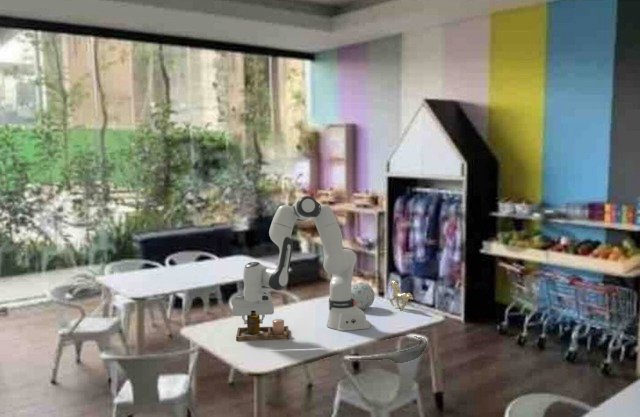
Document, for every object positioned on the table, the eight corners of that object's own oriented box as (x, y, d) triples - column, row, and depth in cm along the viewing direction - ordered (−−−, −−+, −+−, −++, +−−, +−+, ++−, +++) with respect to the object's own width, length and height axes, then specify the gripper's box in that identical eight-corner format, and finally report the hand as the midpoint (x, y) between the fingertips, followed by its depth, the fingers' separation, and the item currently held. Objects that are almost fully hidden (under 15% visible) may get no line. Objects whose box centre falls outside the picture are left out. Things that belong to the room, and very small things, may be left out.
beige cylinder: (284, 332, 284) (283, 318, 283) (284, 336, 278) (284, 322, 277) (272, 332, 283) (272, 319, 283) (272, 336, 278) (272, 322, 277)
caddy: (288, 330, 288) (288, 326, 288) (288, 340, 274) (288, 335, 274) (238, 332, 286) (238, 327, 286) (236, 341, 272) (236, 336, 272)
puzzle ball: (346, 305, 333) (346, 280, 331) (371, 304, 335) (371, 279, 333) (350, 313, 318) (350, 286, 316) (377, 312, 320) (377, 285, 318)
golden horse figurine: (415, 313, 318) (415, 282, 316) (410, 314, 315) (410, 283, 313) (391, 304, 334) (391, 275, 332) (386, 305, 332) (386, 276, 330)
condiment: (263, 332, 282) (263, 308, 280) (253, 337, 275) (252, 312, 273) (251, 329, 285) (251, 306, 284) (240, 334, 278) (240, 310, 277)
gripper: (230, 298, 274) (231, 326, 275) (273, 296, 276) (274, 324, 278) (231, 294, 280) (232, 322, 281) (273, 293, 282) (273, 320, 284)
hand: (253, 323), depth 280 cm, fingers closed on condiment, 6 cm apart
